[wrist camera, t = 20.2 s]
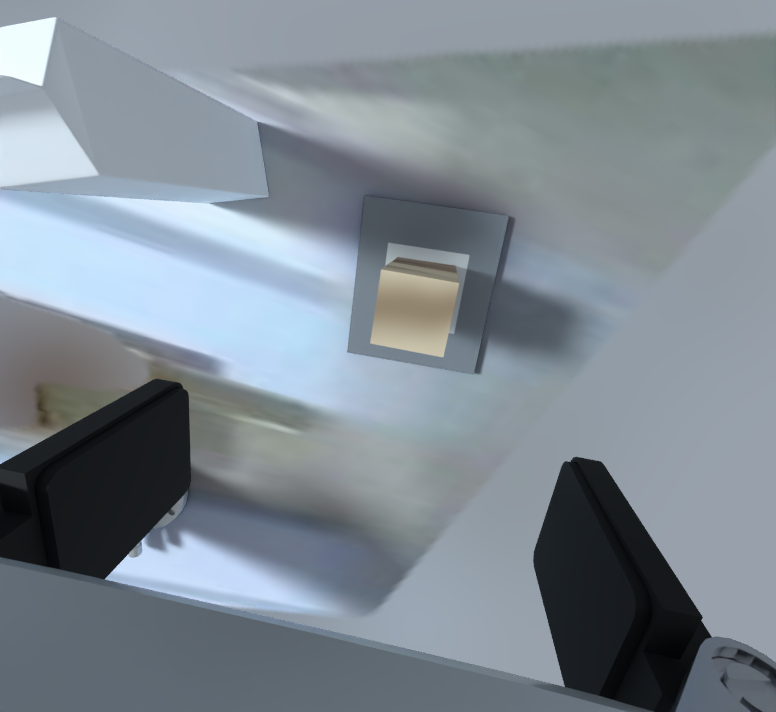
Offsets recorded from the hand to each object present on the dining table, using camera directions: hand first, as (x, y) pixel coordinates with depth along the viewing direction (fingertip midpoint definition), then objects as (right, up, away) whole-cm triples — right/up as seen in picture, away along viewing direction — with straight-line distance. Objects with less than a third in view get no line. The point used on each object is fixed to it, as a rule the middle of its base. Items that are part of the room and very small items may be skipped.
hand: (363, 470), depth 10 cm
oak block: (+3, +7, +21) cm, 23 cm away
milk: (-13, +19, +26) cm, 35 cm away
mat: (+4, +9, +27) cm, 28 cm away
